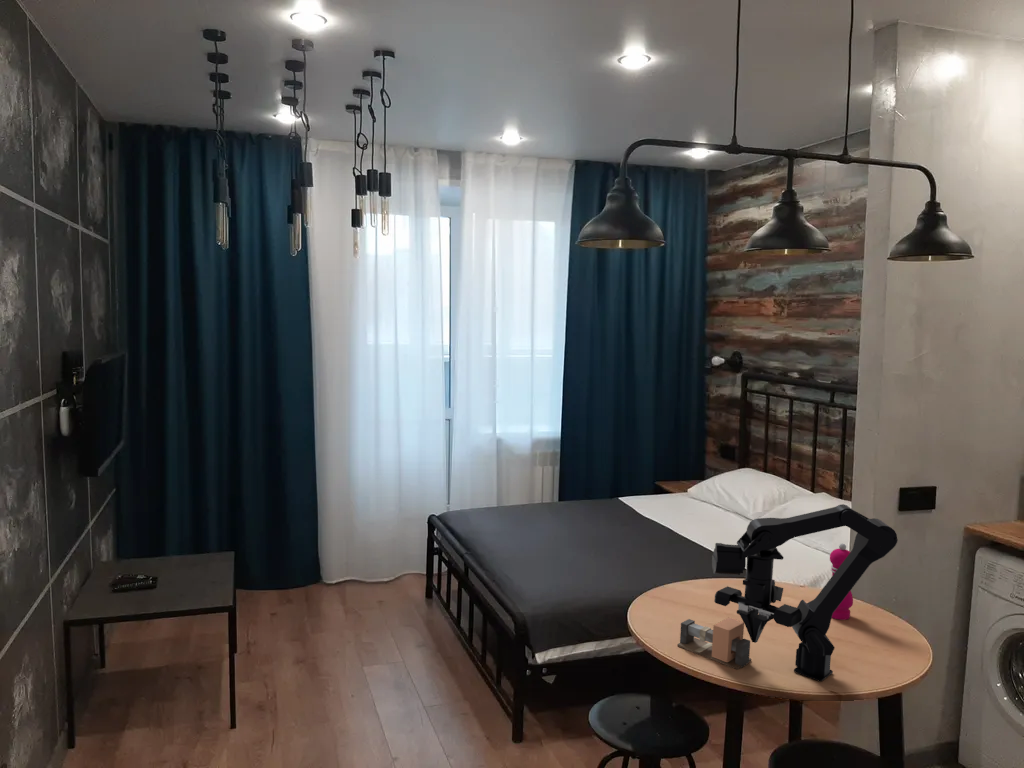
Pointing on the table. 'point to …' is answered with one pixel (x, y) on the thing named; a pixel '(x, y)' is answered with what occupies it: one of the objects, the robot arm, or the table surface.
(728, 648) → the collar
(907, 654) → the table surface
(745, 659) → the rail
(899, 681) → the table surface
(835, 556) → the pepper mill
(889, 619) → the table surface
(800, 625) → the robot arm
